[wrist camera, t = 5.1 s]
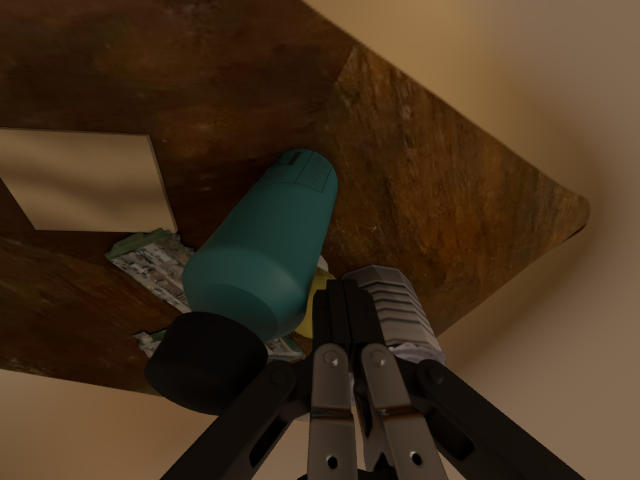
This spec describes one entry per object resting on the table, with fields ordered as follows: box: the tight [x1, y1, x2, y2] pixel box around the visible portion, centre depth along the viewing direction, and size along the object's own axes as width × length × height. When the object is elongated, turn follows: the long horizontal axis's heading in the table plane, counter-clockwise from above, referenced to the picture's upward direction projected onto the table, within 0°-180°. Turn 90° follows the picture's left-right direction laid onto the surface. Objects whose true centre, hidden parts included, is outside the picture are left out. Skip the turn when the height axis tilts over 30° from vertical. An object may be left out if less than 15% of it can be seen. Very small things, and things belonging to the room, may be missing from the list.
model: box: [104, 227, 305, 365], centre depth 37 cm, size 21×30×2 cm
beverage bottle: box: [144, 148, 339, 416], centre depth 17 cm, size 6×7×20 cm
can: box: [341, 264, 446, 406], centre depth 31 cm, size 11×11×12 cm
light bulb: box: [295, 255, 336, 338], centre depth 28 cm, size 7×7×10 cm
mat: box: [0, 127, 178, 233], centre depth 25 cm, size 10×14×1 cm
